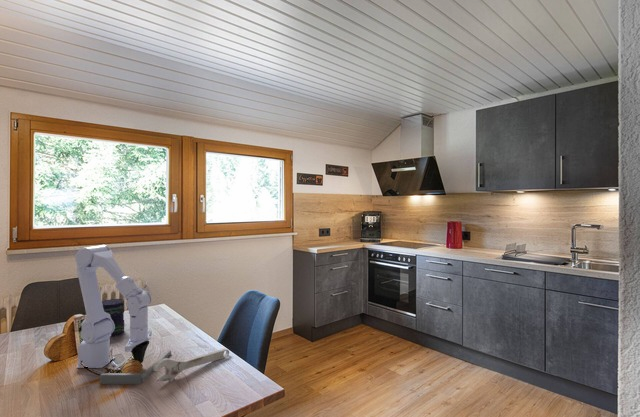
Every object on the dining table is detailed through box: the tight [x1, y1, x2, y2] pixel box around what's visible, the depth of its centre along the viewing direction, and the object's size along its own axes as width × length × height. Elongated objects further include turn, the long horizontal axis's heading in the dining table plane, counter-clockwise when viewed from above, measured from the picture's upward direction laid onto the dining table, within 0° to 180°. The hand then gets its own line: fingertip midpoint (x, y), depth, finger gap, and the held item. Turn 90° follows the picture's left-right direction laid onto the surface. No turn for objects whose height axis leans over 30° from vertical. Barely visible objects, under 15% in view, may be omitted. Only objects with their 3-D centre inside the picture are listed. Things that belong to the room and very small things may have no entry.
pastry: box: [120, 360, 144, 373], centre depth 117 cm, size 9×7×4 cm
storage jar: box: [102, 298, 125, 339], centre depth 154 cm, size 10×10×15 cm
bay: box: [99, 349, 172, 385], centre depth 122 cm, size 13×23×3 cm, turn 0°
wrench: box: [153, 348, 230, 383], centre depth 120 cm, size 8×2×30 cm
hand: (139, 362), depth 122 cm, fingers closed
